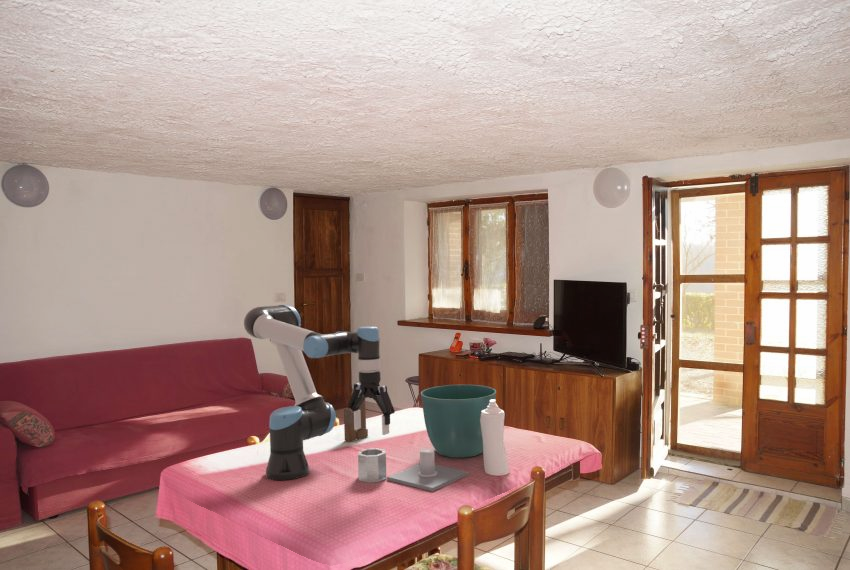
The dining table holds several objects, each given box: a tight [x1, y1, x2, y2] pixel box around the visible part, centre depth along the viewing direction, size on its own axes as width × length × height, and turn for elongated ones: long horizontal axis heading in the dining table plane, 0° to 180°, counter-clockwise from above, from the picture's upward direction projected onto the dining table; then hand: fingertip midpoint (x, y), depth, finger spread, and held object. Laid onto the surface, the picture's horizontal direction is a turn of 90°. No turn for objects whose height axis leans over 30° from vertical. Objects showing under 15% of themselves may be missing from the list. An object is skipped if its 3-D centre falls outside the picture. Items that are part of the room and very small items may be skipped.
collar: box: [357, 447, 387, 484], centre depth 214 cm, size 10×10×9 cm
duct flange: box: [386, 448, 469, 493], centre depth 213 cm, size 20×20×9 cm
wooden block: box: [343, 399, 369, 443], centre depth 267 cm, size 4×11×18 cm, turn 139°
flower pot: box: [420, 384, 497, 459], centre depth 243 cm, size 30×30×24 cm
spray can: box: [480, 399, 510, 477], centre depth 219 cm, size 12×11×25 cm
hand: (371, 431), depth 214 cm, fingers open, 13 cm apart
